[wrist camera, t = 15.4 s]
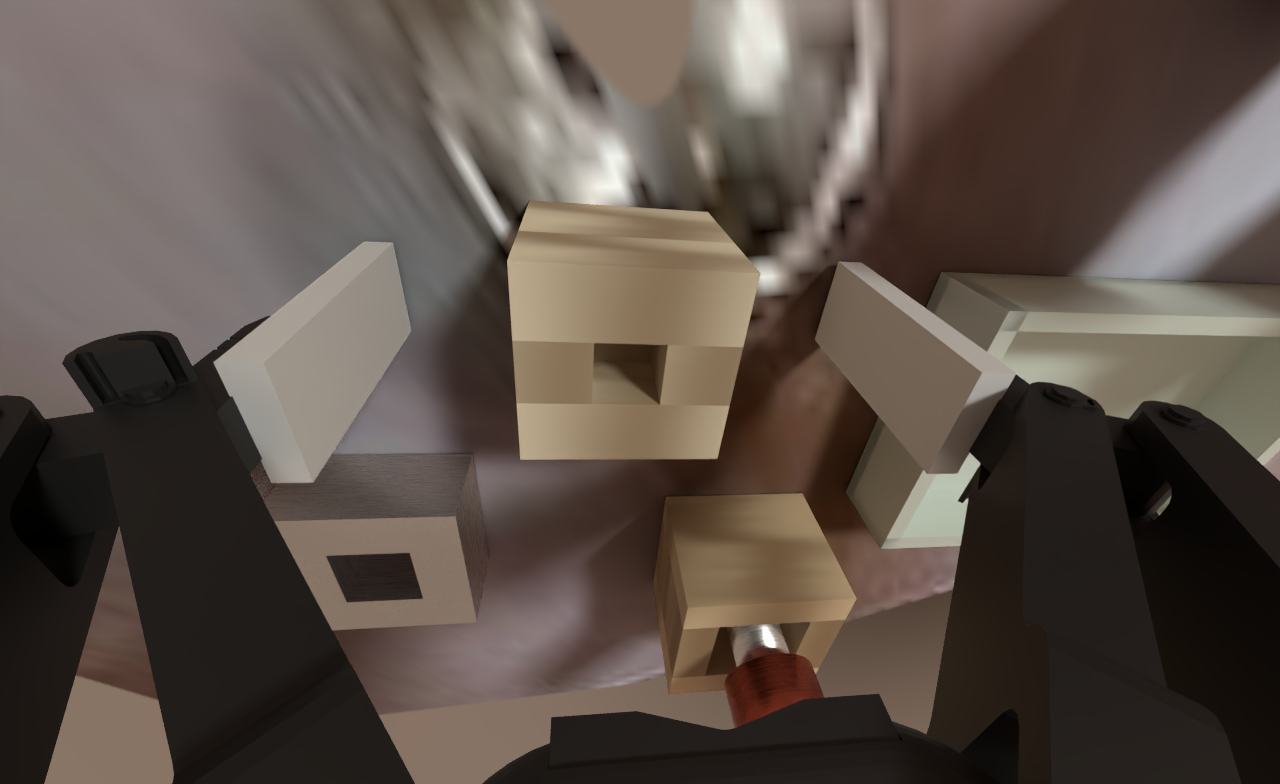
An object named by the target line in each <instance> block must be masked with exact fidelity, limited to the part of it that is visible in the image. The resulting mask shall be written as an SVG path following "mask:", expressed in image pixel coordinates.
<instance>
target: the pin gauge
mask: <svg viewBox="0 0 1280 784" xmlns="http://www.w3.org/2000/svg"><path fill="white" fill-rule="evenodd" d="M726 628H727V632H728V635H729V639H730V643H731V647H732V651H733V654H734V658H735V662H736V666H737V667H736V668H735V669H733V670H732V671H731V672H730V673H729V674H728V676H727V677H726V679H725V682H724V686H725V690H726V694H727V699H728V703H729V707H730V711H731V716H732V720H733V724H734V728H737V727H739V726H741V725H744V724H746V723H748V722H751V721H753V720H756V719H758V718H760V717H763V716H765V715H767V714H770V713H772V712H775V711H777V710H779V709H782V708H784V707H786V706H789V705H791V704H794V703H796V702H798V701H801V700H803V699H814V698H825V697H824V695H823V692H822V690H821V687H820V685H819V682H818V679H817V677H816V674H815V672H814V669H813V666H812V664H811V662H810V661H809V660H808V659H807V658H805V657H803V656H801V655H797V654H791V653H789V650H788V647H787V645H786V642H785V639H784V636H783V633H782V631H781V628H780V625H779V624H766V625H750V626H733V627H726Z"/></svg>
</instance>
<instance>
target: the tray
mask: <svg viewBox="0 0 1280 784" xmlns="http://www.w3.org/2000/svg"><path fill="white" fill-rule="evenodd" d="M926 309H927V310H929V311H930V312H932V313H933V314H934V315H936V316H937V317H939V318H940V319H941V320H943V321H944V322H946V323H947V324H948V325H950V326H951V327H953V328H954V329H955V330H957V331H958V332H960V333H961V334H962V335H964V336H965V337H967V338H968V339H969V340H971V341H972V342H974V343H975V344H976V345H978V346H979V347H981V348H982V349H983V350H985V351H986V352H988V353H989V354H990V355H992V356H993V357H995V358H996V359H997V360H999V361H1000V362H1002V363H1003V364H1004V365H1006V366H1007V367H1009V368H1010V369H1011V370H1013V371H1014V372H1016V373H1017V374H1016V375H1018V376H1019V377H1020V378H1022V379H1023V380H1025V381H1026V382H1027V383H1029V384H1031V383H1035V382H1049V383H1054V384H1058V385H1063V386H1068V387H1071V388H1073V389H1076V390H1078V391H1080V392H1081V393H1083V394H1085V395H1087V396H1089V397H1091V398H1092V399H1094V400H1096V401H1097V402H1098V403H1099V404H1100V405H1101V406H1102V408H1103V409H1104V411H1105V415H1109V416H1114V417H1120V418H1125V419H1129V418H1130V417H1131V415H1132V414H1133V413H1134V412H1135V410H1136V409H1137V408H1138V407H1139V405H1140V404H1141V403H1142V402H1143V401H1152V400H1153V401H1160V402H1167V403H1170V404H1174V405H1178V404H1179V405H1183V406H1186V407H1189V408H1192V409H1194V410H1196V411H1199V412H1201V413H1202V414H1203V415H1204V416H1205V417H1207V418H1209V419H1211V420H1213V421H1214V422H1215V423H1217V424H1218V425H1220V426H1221V427H1222V428H1224V429H1225V430H1226V431H1227V432H1228V433H1229V434H1230V435H1231V436H1232V437H1233V438H1234V439H1235V440H1236V441H1237V442H1238V443H1240V444H1241V445H1242V446H1243V447H1244V448H1245V449H1246V450H1247V451H1248V452H1249V453H1250V454H1251V455H1252V456H1253V457H1254V458H1255V459H1257V460H1258V461H1259V462H1260V463H1261V464H1262V465H1264V464H1266V463H1267V462H1268V461H1269V460H1270V459H1271V458H1272V457H1273V456H1274V455H1275V454H1276V453H1277V452H1278V451H1279V450H1280V285H1275V284H1248V283H1222V282H1196V281H1169V280H1143V279H1116V278H1090V277H1063V276H1037V275H1010V274H984V273H958V272H941V274H940V276H939V279H938V281H937V283H936V286H935V288H934V290H933V292H932V295H931V297H930V299H929V302H928V304H927V306H926ZM980 464H981V463H980V462H979V461H978V460H977V459H976V458H975V457H974V456H973V455H972V454H971V453H969V455H968V456H967V458H966V460H965V461H964V463H963V465H962V466H961V468H960V470H959V471H958V473H957V474H926V472H925V471H924V470H923V469H922V468H921V466H920V465H919V464H918V463H917V462H916V460H915V459H914V458H913V457H912V456H911V454H910V453H909V452H908V451H907V450H906V448H905V447H904V446H903V445H902V444H901V443H900V441H899V440H898V439H897V438H896V437H895V435H894V434H893V433H892V432H891V431H890V429H889V428H888V427H887V426H886V425H885V423H884V422H883V421H882V420H881V419H880V417H878V419H877V421H876V424H875V426H874V428H873V431H872V433H871V435H870V437H869V440H868V442H867V444H866V447H865V449H864V451H863V454H862V456H861V458H860V460H859V463H858V465H857V467H856V470H855V472H854V474H853V477H852V479H851V481H850V483H849V486H848V488H847V490H846V494H847V495H848V497H849V499H850V500H851V502H852V503H853V505H854V507H855V508H856V510H857V512H858V513H859V515H860V516H861V518H862V520H863V521H864V523H865V524H866V526H867V528H868V529H869V531H870V533H871V534H872V536H873V537H874V539H875V541H876V542H877V544H878V546H879V547H880V549H893V548H917V547H942V546H961V540H962V534H963V529H964V523H965V517H966V511H967V505H968V499H966V500H965V501H964V502H963V503H961V502H958V499H959V498H960V496H961V495H962V493H963V491H964V490H965V488H966V487H967V485H968V483H969V482H970V480H971V478H972V477H973V475H974V474H975V472H976V470H977V469H978V467H979V466H980ZM1170 499H1171V497H1170V498H1169V499H1168V500H1167V501H1166V502H1165V503H1164V504H1163V505H1162V506H1161V507H1160V508H1159V509H1158V510H1157V513H1158V514H1159V515H1160V514H1161V513H1162V512H1163V511H1164V510H1165V508H1166V507H1167V506H1168V504H1169V502H1170Z"/></svg>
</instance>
